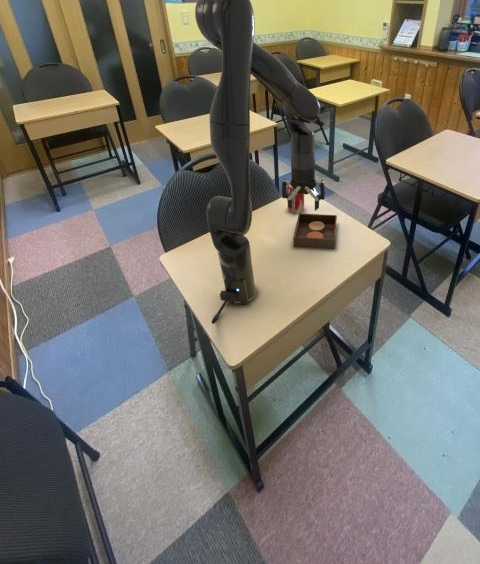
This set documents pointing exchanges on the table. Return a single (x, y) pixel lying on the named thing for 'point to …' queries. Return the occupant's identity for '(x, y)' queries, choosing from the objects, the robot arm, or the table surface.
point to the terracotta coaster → (315, 235)
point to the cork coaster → (316, 227)
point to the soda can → (296, 201)
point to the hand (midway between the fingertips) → (303, 208)
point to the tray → (303, 230)
